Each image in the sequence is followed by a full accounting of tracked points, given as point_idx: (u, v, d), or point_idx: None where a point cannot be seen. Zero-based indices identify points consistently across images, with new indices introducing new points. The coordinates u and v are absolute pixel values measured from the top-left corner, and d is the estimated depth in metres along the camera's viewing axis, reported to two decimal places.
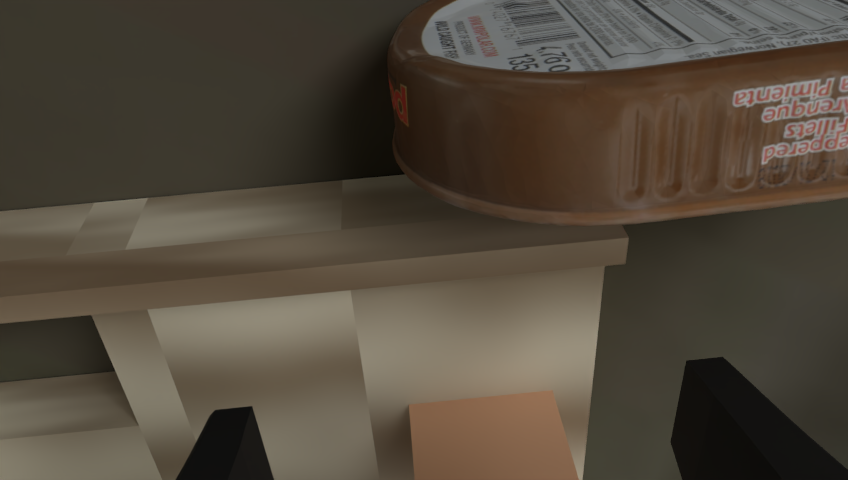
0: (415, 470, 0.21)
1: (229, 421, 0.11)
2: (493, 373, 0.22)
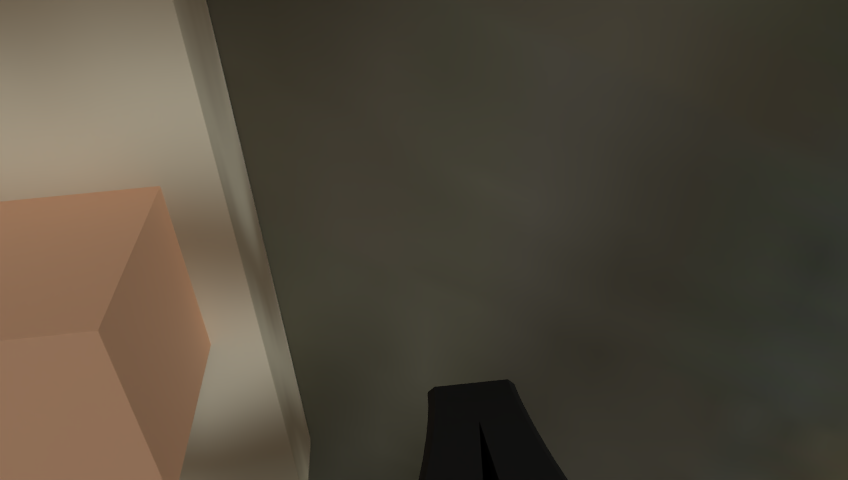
0: None
1: (456, 398, 0.11)
2: (54, 152, 0.15)
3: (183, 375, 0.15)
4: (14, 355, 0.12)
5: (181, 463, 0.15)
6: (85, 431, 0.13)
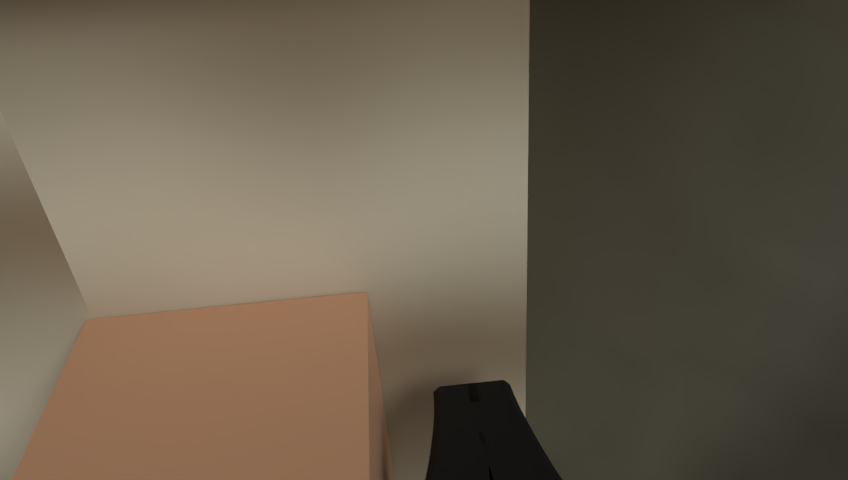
0: (31, 441, 0.10)
1: (461, 397, 0.11)
2: (328, 246, 0.11)
3: None
4: None
5: None
6: None
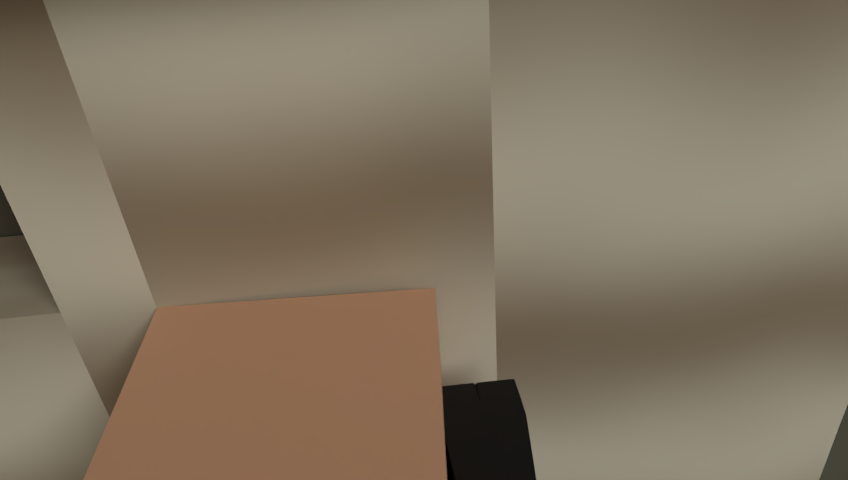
0: (108, 425, 0.10)
1: (500, 393, 0.11)
2: (739, 203, 0.12)
3: None
4: None
5: None
6: None
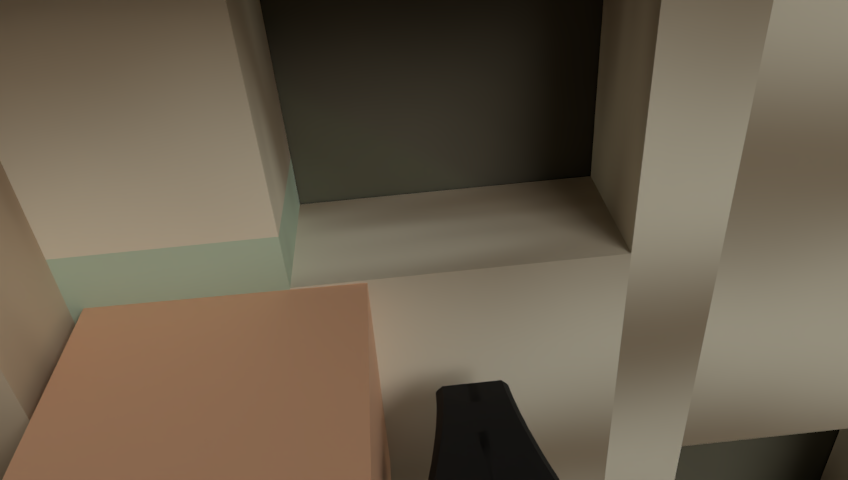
0: (27, 430, 0.10)
1: (463, 397, 0.11)
2: None
3: None
4: None
5: None
6: None
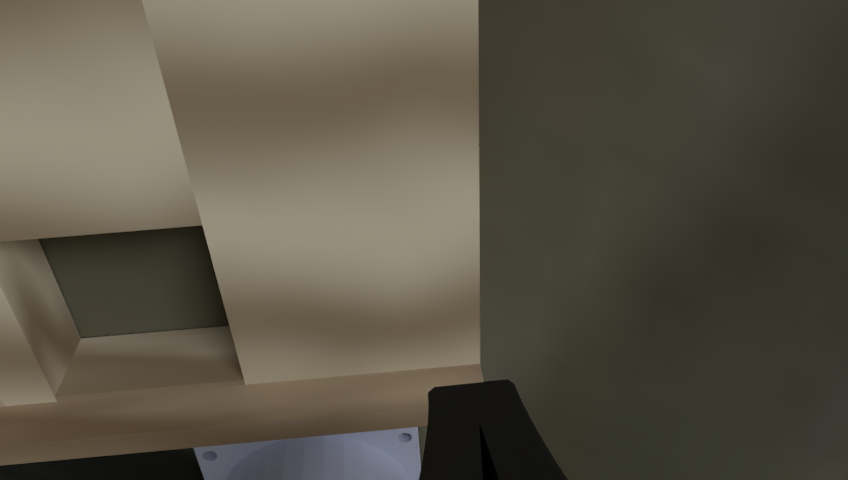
0: None
1: (455, 398, 0.11)
2: None
3: None
4: None
5: None
6: None
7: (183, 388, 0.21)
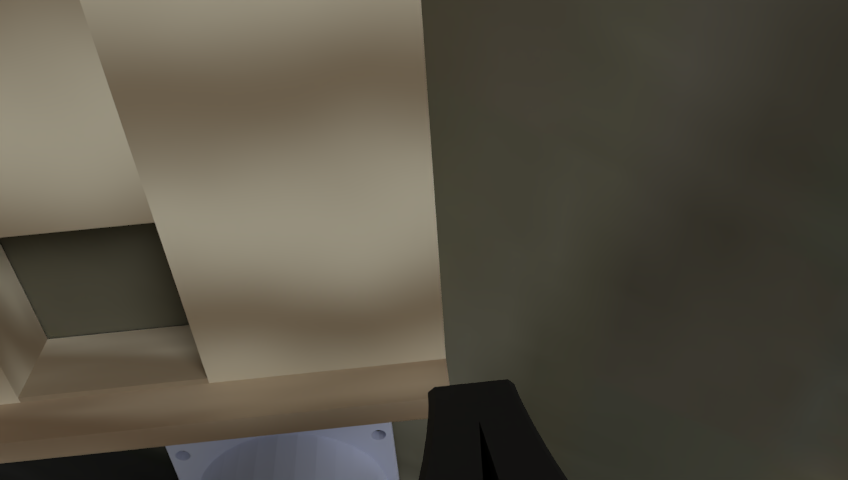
0: None
1: (455, 398, 0.11)
2: None
3: None
4: None
5: None
6: None
7: (146, 387, 0.21)
